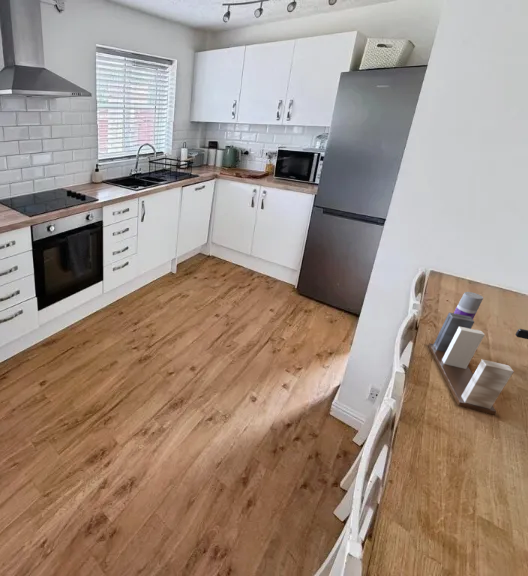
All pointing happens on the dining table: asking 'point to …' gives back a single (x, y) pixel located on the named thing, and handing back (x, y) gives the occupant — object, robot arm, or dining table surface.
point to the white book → (463, 347)
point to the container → (469, 304)
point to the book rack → (469, 371)
